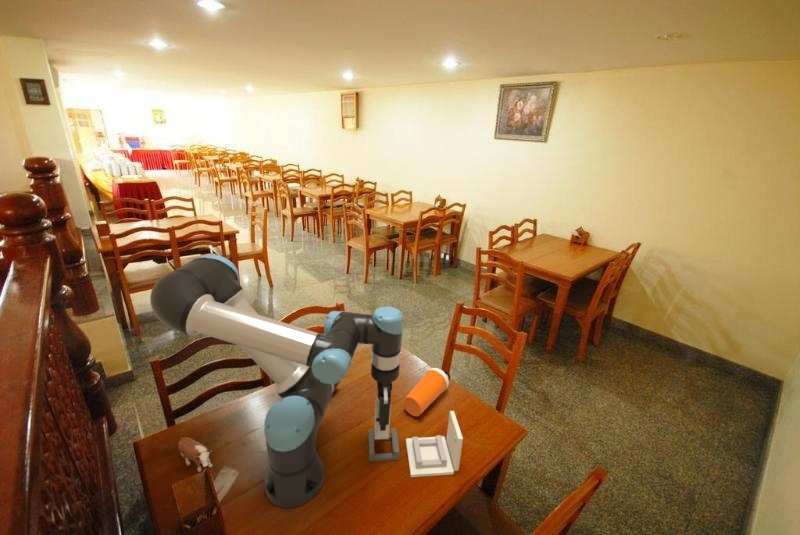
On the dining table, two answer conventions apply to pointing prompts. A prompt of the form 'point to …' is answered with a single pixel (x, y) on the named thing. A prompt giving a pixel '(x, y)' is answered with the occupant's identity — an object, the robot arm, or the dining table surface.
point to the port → (436, 452)
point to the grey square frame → (384, 455)
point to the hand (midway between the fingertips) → (381, 429)
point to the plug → (378, 417)
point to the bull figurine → (194, 452)
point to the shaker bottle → (426, 391)
